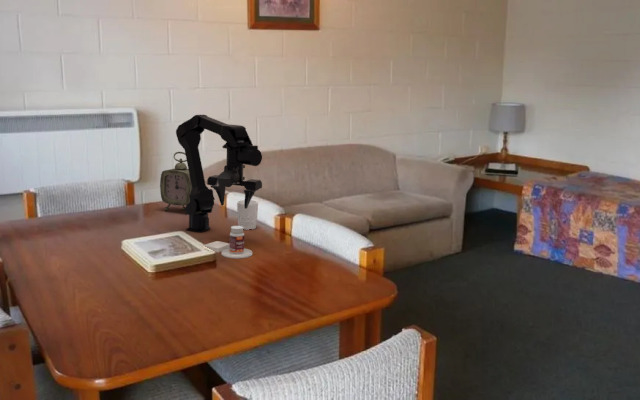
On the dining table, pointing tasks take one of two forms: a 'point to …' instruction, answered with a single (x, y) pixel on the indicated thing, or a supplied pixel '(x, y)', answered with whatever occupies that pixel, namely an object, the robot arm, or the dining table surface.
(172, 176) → the tabletop clock
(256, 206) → the white cup
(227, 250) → the coaster
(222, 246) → the tile
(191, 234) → the dining table surface
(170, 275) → the dining table surface
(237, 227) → the pill bottle
